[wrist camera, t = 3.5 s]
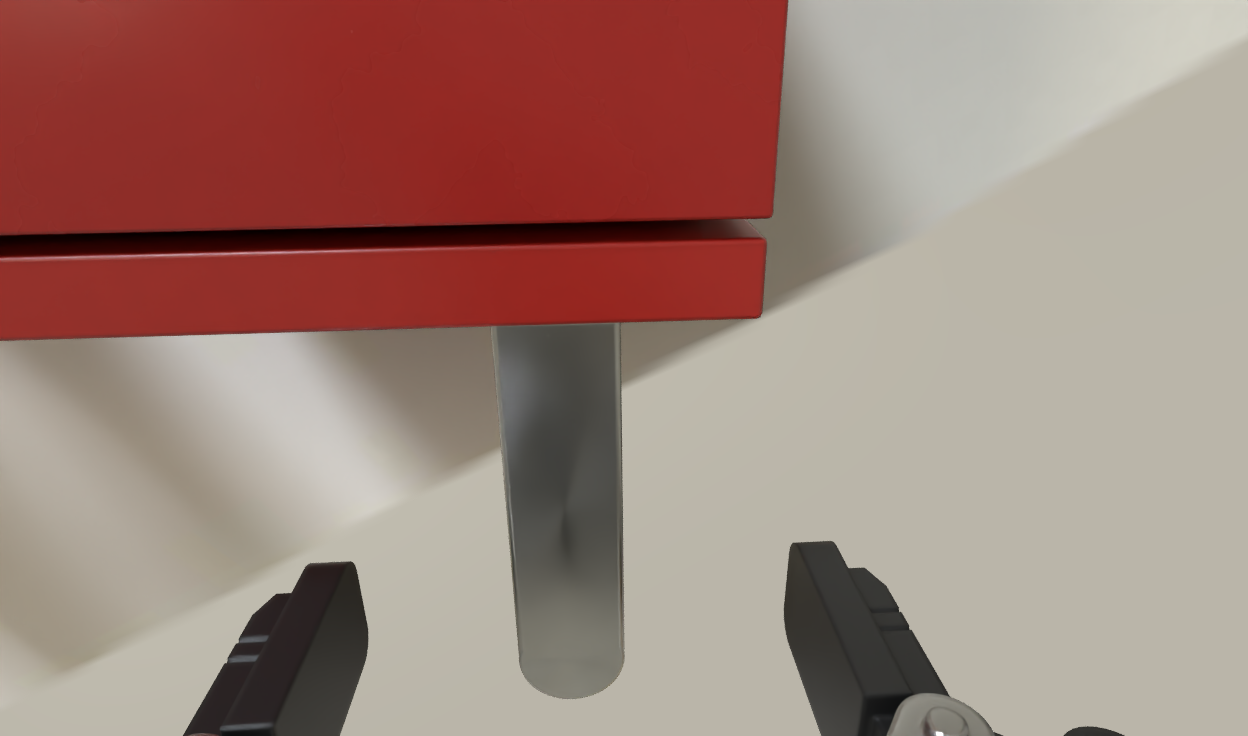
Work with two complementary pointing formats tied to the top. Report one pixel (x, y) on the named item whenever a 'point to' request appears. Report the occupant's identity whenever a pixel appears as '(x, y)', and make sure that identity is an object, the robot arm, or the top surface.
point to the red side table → (443, 298)
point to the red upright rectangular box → (385, 113)
